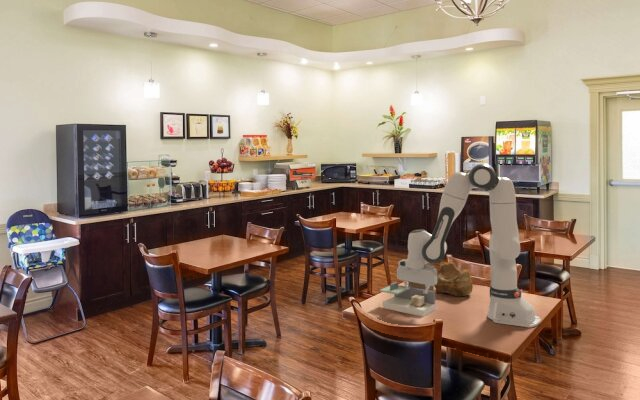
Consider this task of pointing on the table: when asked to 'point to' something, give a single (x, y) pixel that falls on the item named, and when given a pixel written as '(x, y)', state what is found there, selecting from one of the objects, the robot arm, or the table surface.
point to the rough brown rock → (453, 280)
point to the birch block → (417, 301)
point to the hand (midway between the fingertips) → (416, 291)
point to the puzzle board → (404, 302)
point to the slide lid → (393, 289)
